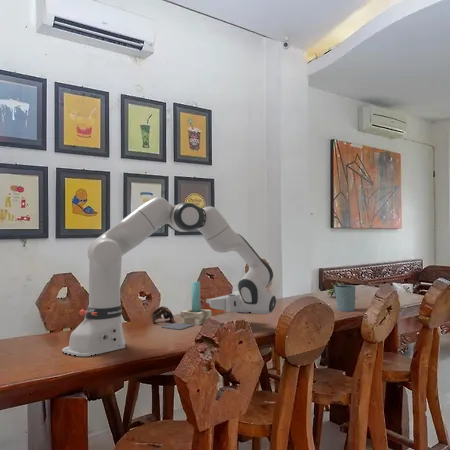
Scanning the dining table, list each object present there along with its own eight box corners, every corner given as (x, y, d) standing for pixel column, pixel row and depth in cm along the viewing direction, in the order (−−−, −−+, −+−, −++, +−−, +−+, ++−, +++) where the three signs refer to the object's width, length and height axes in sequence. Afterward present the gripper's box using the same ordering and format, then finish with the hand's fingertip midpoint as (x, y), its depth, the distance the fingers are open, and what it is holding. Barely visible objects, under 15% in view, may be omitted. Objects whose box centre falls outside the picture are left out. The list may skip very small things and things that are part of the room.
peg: (197, 323, 201) (196, 282, 201) (190, 322, 203) (189, 282, 204) (202, 321, 204) (201, 281, 205) (195, 320, 207) (194, 281, 207)
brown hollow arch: (174, 325, 200) (165, 310, 198) (156, 334, 201) (146, 319, 200) (178, 313, 212) (169, 299, 210) (161, 322, 213) (152, 308, 211)
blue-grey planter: (355, 312, 221) (354, 287, 221) (334, 311, 224) (333, 287, 224) (356, 308, 231) (355, 285, 231) (336, 307, 234) (335, 284, 234)
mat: (179, 330, 187) (179, 329, 187) (161, 327, 193) (161, 326, 193) (194, 325, 196) (194, 324, 196) (176, 323, 201) (176, 322, 201)
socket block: (198, 325, 197) (198, 313, 197) (180, 322, 202) (180, 311, 202) (211, 321, 205) (211, 310, 205) (194, 319, 211) (194, 308, 211)
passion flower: (343, 306, 270) (354, 290, 266) (332, 305, 263) (343, 289, 259) (332, 294, 278) (342, 278, 274) (320, 292, 271) (331, 276, 267)
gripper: (252, 291, 200) (225, 289, 207) (226, 297, 183) (199, 295, 190) (252, 305, 200) (226, 303, 207) (227, 312, 183) (199, 310, 190)
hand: (213, 299), depth 199 cm, fingers open, 8 cm apart
